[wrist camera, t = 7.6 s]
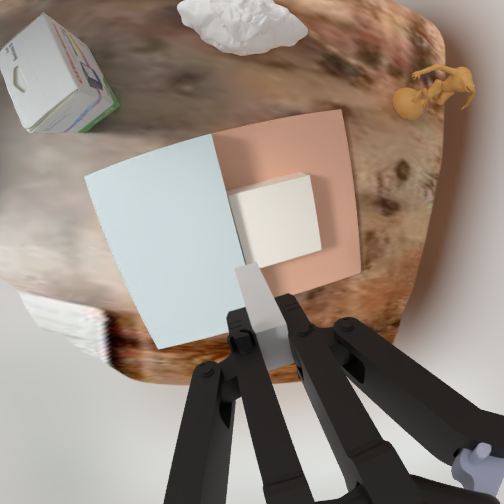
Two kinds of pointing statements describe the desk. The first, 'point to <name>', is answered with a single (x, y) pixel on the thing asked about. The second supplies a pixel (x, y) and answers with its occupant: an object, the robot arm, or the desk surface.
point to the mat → (323, 186)
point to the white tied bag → (242, 24)
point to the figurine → (433, 91)
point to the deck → (172, 238)
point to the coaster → (275, 219)
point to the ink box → (54, 79)
